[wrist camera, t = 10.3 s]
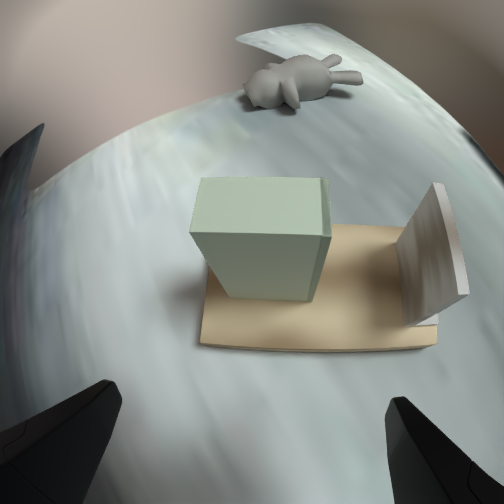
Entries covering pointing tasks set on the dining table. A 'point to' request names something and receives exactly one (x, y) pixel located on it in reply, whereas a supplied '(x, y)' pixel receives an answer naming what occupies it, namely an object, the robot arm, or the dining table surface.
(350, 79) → the bunny figurine
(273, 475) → the dining table surface
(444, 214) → the tan board with upright
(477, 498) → the robot arm
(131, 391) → the dining table surface
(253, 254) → the sage book
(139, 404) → the dining table surface
